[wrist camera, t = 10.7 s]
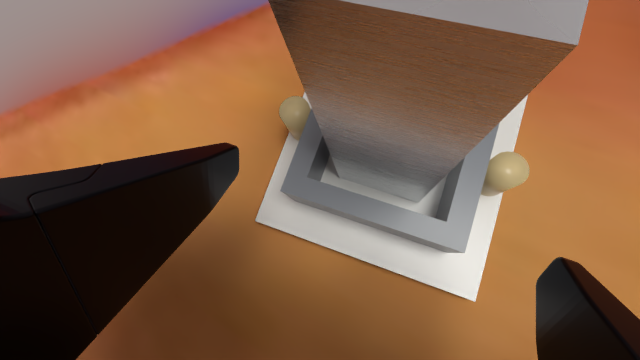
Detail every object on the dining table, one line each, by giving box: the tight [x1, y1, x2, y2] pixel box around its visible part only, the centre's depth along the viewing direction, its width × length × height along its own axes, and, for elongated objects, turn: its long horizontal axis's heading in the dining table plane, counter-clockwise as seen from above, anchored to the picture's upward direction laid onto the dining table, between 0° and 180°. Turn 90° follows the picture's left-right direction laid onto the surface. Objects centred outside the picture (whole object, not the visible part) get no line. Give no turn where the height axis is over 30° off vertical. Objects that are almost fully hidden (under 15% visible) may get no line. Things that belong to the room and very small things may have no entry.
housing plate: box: [255, 93, 529, 302], centre depth 16 cm, size 12×12×4 cm
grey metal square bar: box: [269, 0, 589, 203], centre depth 11 cm, size 4×4×13 cm
